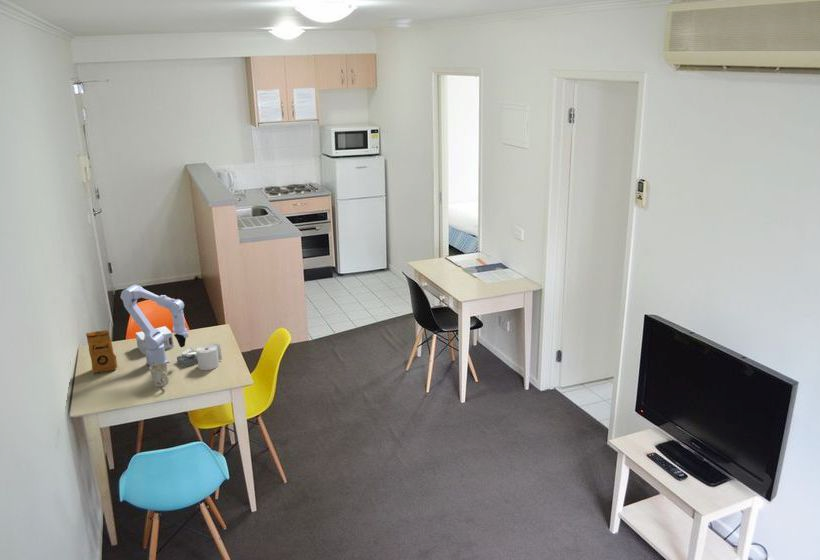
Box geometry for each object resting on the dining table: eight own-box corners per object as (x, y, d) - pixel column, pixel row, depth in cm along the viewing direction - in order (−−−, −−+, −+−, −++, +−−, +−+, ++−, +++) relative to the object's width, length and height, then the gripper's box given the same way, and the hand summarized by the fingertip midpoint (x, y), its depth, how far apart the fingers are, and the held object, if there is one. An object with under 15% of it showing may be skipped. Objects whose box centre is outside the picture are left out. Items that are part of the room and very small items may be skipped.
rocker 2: (187, 356, 348) (187, 354, 348) (184, 355, 350) (184, 352, 350) (197, 355, 352) (197, 353, 352) (195, 354, 354) (195, 351, 354)
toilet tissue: (194, 370, 344) (192, 352, 341) (204, 360, 355) (202, 343, 352) (214, 370, 343) (212, 353, 339) (223, 360, 354) (221, 343, 351)
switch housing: (185, 367, 347) (183, 358, 345) (177, 362, 354) (176, 353, 352) (204, 360, 354) (203, 352, 353) (196, 355, 361) (195, 347, 359)
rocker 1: (184, 356, 352) (183, 354, 351) (181, 354, 354) (181, 352, 353) (194, 350, 355) (193, 348, 354) (191, 349, 357) (191, 347, 356)
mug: (164, 378, 335) (161, 361, 332) (177, 385, 327) (175, 367, 324) (149, 385, 329) (146, 366, 325) (162, 392, 321) (159, 373, 318)
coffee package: (117, 371, 344) (110, 332, 337) (91, 375, 340) (83, 336, 333) (119, 364, 353) (112, 326, 346) (93, 367, 349) (86, 329, 342)
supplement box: (143, 355, 363) (141, 339, 360) (137, 347, 373) (134, 332, 370) (174, 347, 372) (172, 332, 370) (167, 340, 383) (165, 325, 380)
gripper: (192, 324, 342) (195, 348, 346) (180, 317, 352) (183, 340, 356) (179, 327, 337) (182, 352, 341) (167, 320, 347) (170, 344, 352)
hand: (182, 346), depth 348 cm, fingers closed
